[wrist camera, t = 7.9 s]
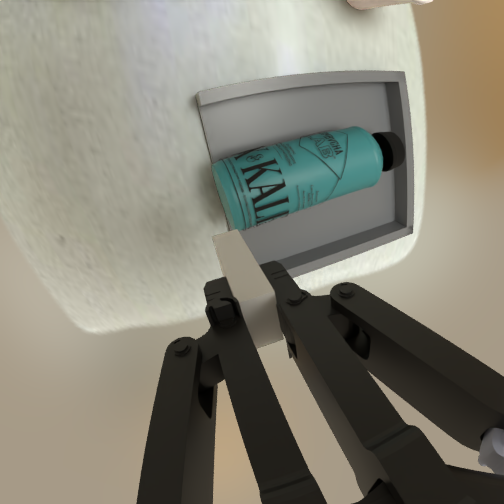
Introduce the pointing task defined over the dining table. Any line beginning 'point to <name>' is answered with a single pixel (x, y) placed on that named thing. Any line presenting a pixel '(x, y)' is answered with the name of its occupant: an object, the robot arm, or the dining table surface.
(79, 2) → the dining table surface
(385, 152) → the beverage bottle
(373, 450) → the robot arm
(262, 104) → the charcoal tray
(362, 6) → the smoothie
